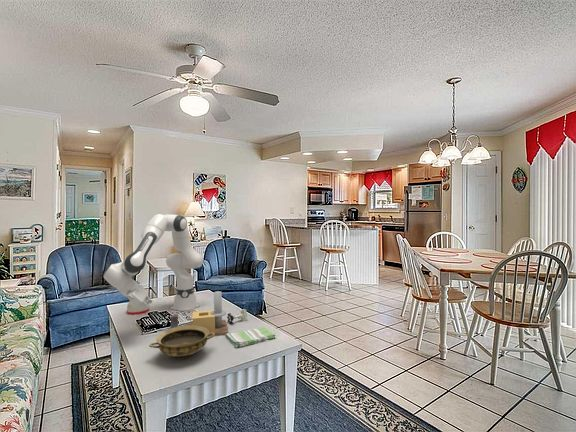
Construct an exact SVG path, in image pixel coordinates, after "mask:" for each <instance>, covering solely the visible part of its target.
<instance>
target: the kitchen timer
mask: <svg viewBox="0 0 576 432" xmlns="http://www.w3.org/2000/svg"><path fill="white" fill-rule="evenodd" d="M144 302H145V303H146V304H148V305H150V304H149V303H148V302H147V301H146V300H145V299H144ZM149 311H150V307H149V308H148V309H146V308H145V307H143V306H141V305H140V306H139V307H137V306H135V305H134V304H133V303H132V302H131V301H130V300H129V301H128V302H127V307H126V313H127V315H130V316H134V315H142V314H146V313H147V312H149Z"/></svg>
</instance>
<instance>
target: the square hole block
mask: <svg viewBox="0 0 576 432" xmlns="http://www.w3.org/2000/svg"><path fill="white" fill-rule="evenodd" d="M222 295H223V294H222V291H219V290H217V291H214V292H213V309H208V310H197V311H192V323H193V326H201V327H204V328H206V329H208V331H215V327H216V328H219V327H222V320H223V317H224V316H226V315H227V312H226V311H225V310H223V309H222V308H223V307H222V306H223V304H222V303H223V299H222V298H223V297H222Z"/></svg>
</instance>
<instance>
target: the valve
mask: <svg viewBox="0 0 576 432" xmlns="http://www.w3.org/2000/svg"><path fill="white" fill-rule="evenodd" d="M226 315H227V316H226V318H227V322H228V324H229V325H231V324H233V321H234V319H235V320H236V319H237V320H240V321H241V322H246V321H247V317H248V313H247V308H246V309H245V308H243V309H240V313H238V314H237V315H234V316H233V315H232V313H231V312H229V313H226Z"/></svg>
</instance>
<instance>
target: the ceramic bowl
mask: <svg viewBox="0 0 576 432" xmlns="http://www.w3.org/2000/svg"><path fill="white" fill-rule="evenodd" d="M208 335H212V336H210V337H207V336H208ZM214 335H215V333H209V331H208V329H206V328H204V327H201V326H192V325H191V326H186V325H183V326H182V325H181V326H178V327H175V328H172V329H171V328H169V329H166V330H164V331H162V332H161V333H158V335H157V336H156V339H155V341H156V342H152V343H149V345H148V346H149V347H150V348H153V349H159V351H160V352H161V353H162V354H164V355H166V356H170V357H175V358H176V359H186V358H187V359H188V358H189V357H191V356H192V355H193V354H195V353H197V352H200V350H201V349H203V348H204V347H205V346H206V344H207V342H208V341H209V340H210V339H213V338H214V337H215V336H214Z"/></svg>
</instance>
